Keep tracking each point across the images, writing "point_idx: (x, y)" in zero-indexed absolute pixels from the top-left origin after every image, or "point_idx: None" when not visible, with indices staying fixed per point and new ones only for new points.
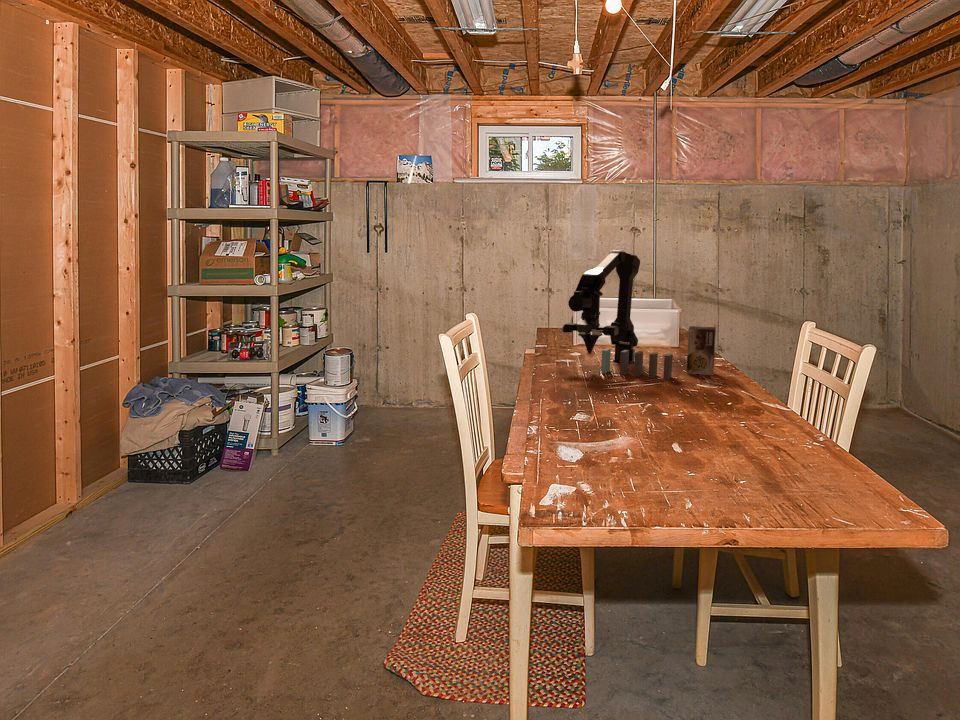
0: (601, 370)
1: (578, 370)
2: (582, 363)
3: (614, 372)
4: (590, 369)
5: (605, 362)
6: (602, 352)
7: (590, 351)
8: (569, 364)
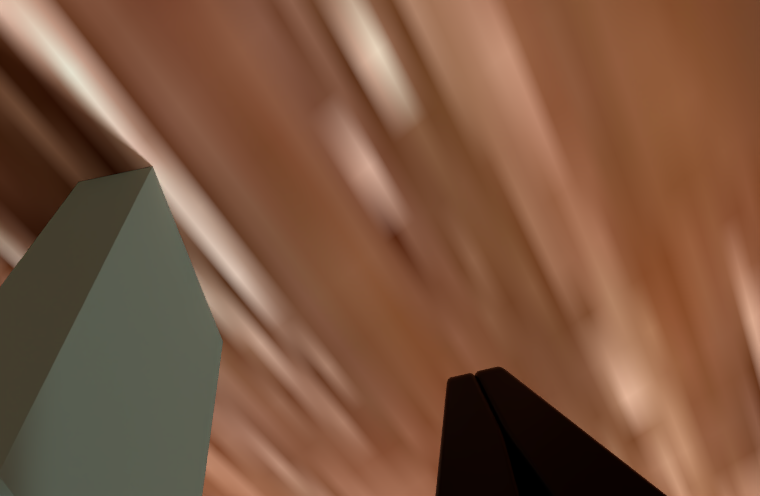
0: (139, 185)
1: (537, 125)
2: None
3: None
4: (427, 291)
5: (16, 277)
6: (1, 420)
7: (452, 412)
8: (751, 367)
